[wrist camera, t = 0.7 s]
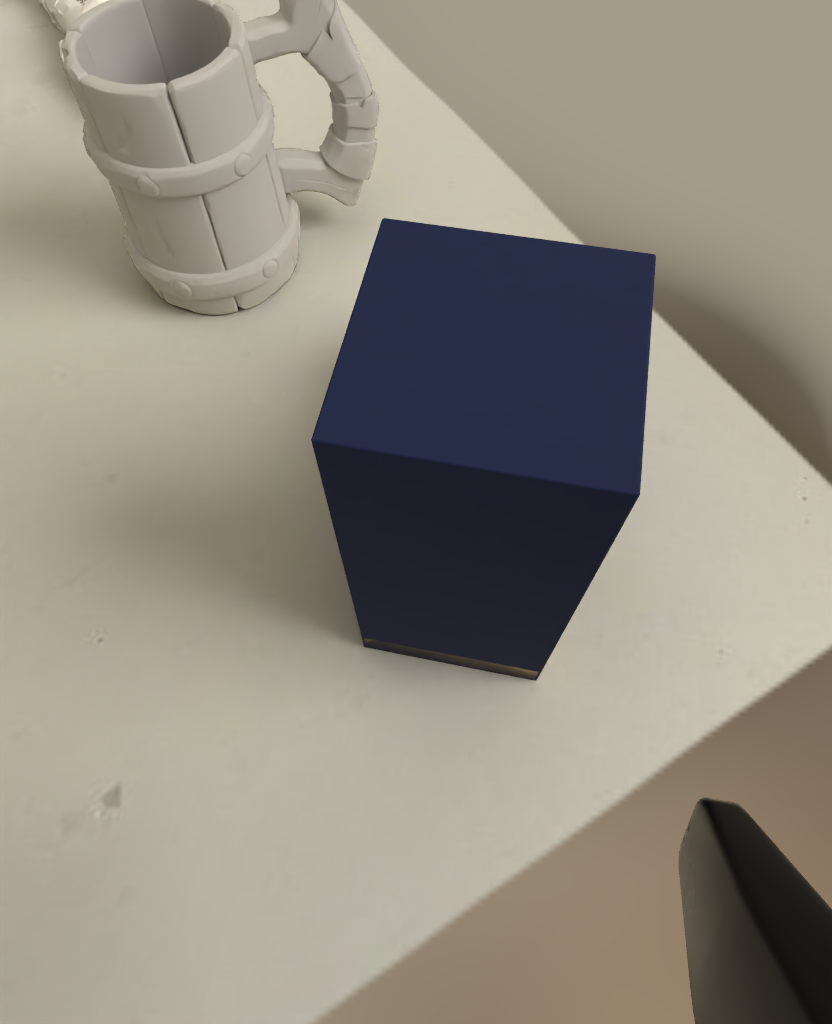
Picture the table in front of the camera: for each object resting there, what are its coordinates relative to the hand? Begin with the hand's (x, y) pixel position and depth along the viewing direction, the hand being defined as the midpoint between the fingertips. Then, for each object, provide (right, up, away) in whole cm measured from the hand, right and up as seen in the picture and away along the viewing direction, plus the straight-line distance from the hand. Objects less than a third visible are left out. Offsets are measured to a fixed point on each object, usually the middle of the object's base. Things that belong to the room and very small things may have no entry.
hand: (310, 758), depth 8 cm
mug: (-6, +15, +25) cm, 30 cm away
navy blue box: (+4, +3, +19) cm, 19 cm away
